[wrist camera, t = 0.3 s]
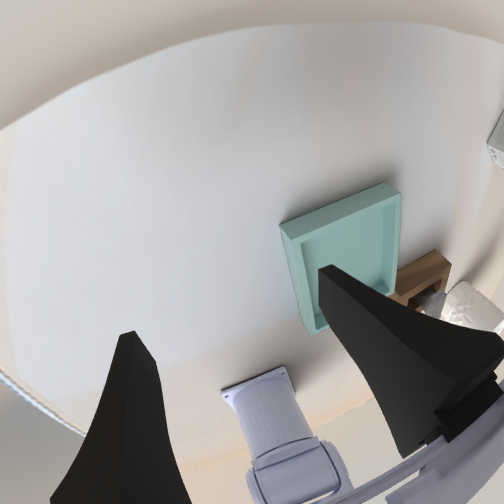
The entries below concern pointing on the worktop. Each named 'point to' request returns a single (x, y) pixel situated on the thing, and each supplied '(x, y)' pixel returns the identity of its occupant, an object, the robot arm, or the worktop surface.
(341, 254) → the tray
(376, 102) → the worktop surface
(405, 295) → the frame ring
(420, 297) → the t post
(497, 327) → the white cup
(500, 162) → the skincare box
